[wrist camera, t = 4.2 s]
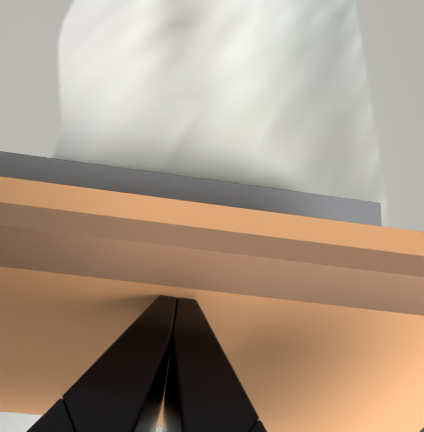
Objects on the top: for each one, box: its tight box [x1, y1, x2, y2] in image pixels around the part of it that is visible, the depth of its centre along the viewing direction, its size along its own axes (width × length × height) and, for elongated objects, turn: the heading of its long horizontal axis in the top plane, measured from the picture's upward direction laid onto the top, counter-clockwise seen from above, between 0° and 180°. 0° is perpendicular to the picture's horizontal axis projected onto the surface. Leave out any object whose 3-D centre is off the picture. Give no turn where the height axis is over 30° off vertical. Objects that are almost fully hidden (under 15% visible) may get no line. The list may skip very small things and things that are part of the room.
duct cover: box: [0, 176, 424, 432], centre depth 9 cm, size 8×16×1 cm
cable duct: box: [0, 152, 381, 226], centre depth 16 cm, size 9×16×5 cm, turn 84°
